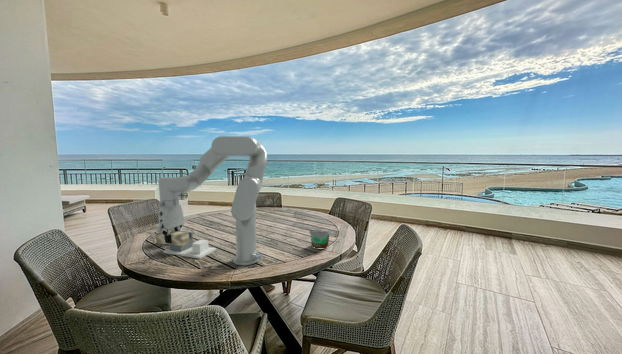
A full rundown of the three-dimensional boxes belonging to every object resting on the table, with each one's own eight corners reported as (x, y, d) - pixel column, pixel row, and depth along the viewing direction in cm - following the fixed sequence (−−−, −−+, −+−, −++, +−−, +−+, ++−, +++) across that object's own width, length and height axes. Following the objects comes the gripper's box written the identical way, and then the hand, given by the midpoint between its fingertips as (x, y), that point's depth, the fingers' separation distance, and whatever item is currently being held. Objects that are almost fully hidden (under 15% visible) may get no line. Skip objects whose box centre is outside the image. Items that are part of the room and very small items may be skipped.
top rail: (189, 242, 110) (188, 232, 110) (182, 245, 106) (181, 235, 106) (163, 239, 115) (163, 230, 115) (156, 242, 111) (155, 232, 111)
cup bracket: (216, 249, 128) (215, 233, 127) (199, 258, 116) (199, 241, 116) (182, 244, 135) (181, 229, 134) (163, 252, 124) (162, 236, 123)
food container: (306, 249, 129) (306, 231, 129) (309, 245, 135) (309, 228, 134) (328, 251, 126) (329, 233, 126) (330, 247, 132) (330, 230, 132)
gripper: (159, 207, 100) (162, 248, 102) (190, 200, 116) (192, 236, 117) (146, 206, 102) (150, 247, 104) (178, 199, 118) (181, 235, 120)
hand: (172, 240), depth 111 cm, fingers closed on top rail, 4 cm apart
